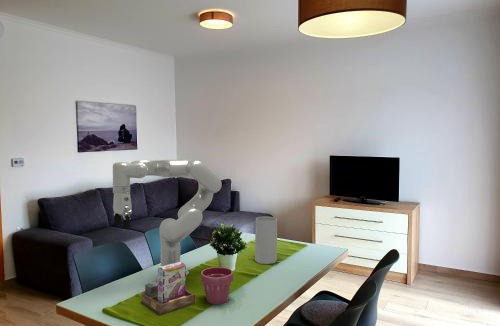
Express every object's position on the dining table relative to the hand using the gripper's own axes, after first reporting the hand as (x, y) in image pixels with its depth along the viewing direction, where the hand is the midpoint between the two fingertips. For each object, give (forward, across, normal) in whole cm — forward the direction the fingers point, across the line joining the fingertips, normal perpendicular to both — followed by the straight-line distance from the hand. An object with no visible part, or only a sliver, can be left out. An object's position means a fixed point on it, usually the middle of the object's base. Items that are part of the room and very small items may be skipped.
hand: (121, 226), depth 181 cm
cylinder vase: (+31, -13, -81) cm, 88 cm away
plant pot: (+31, -37, -27) cm, 55 cm away
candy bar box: (+30, -29, -9) cm, 42 cm away
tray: (+30, -26, -9) cm, 41 cm away
